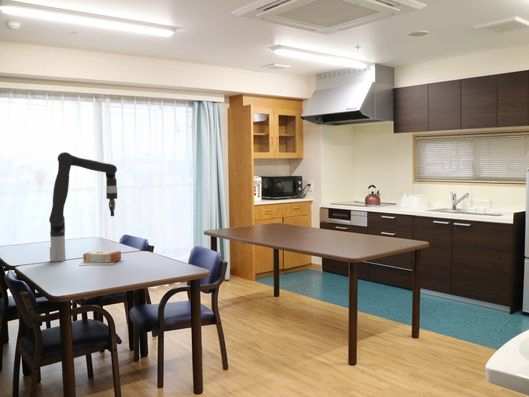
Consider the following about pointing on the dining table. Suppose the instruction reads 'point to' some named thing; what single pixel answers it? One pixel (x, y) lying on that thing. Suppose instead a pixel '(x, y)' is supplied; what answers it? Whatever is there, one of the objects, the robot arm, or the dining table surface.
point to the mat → (96, 263)
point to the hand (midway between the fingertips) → (112, 216)
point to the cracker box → (102, 256)
